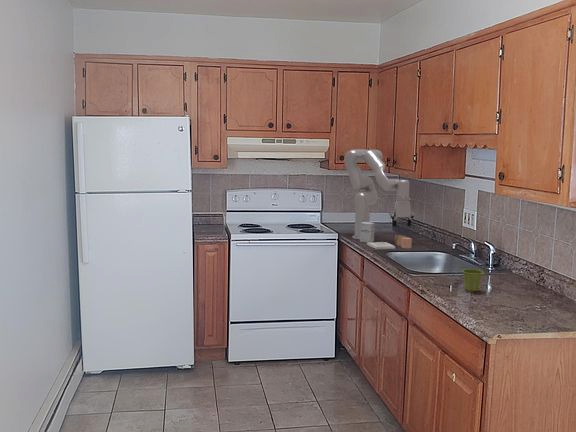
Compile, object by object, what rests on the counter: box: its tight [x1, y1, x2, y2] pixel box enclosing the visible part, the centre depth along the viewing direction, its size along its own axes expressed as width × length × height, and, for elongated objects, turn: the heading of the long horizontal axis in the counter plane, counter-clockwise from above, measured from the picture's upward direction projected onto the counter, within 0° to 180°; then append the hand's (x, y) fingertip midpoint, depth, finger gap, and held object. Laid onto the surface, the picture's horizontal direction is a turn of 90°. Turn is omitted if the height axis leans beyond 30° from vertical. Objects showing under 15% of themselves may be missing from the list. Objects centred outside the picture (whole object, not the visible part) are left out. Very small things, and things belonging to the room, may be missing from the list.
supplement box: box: [359, 221, 376, 244], centre depth 398 cm, size 7×7×13 cm
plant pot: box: [461, 268, 484, 292], centre depth 278 cm, size 9×9×9 cm
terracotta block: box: [400, 237, 413, 249], centre depth 381 cm, size 5×5×6 cm
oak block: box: [394, 234, 407, 247], centre depth 390 cm, size 5×5×6 cm
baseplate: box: [366, 241, 396, 250], centre depth 382 cm, size 14×13×2 cm
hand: (401, 226), depth 388 cm, fingers open, 9 cm apart
